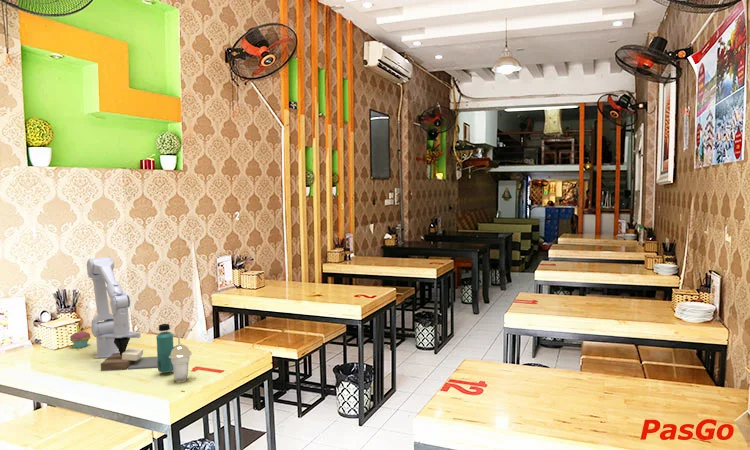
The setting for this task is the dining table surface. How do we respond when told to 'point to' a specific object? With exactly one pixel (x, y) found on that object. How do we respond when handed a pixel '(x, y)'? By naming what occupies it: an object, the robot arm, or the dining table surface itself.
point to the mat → (144, 363)
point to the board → (115, 363)
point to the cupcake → (80, 338)
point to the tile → (132, 354)
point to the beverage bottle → (164, 348)
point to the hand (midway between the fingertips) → (122, 355)
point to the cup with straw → (180, 360)
